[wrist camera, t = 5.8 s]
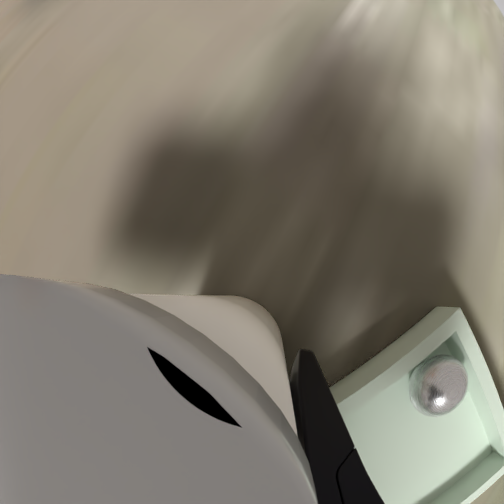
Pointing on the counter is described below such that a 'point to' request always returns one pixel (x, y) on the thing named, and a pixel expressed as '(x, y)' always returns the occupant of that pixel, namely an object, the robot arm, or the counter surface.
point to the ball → (438, 385)
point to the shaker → (143, 399)
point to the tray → (425, 418)
